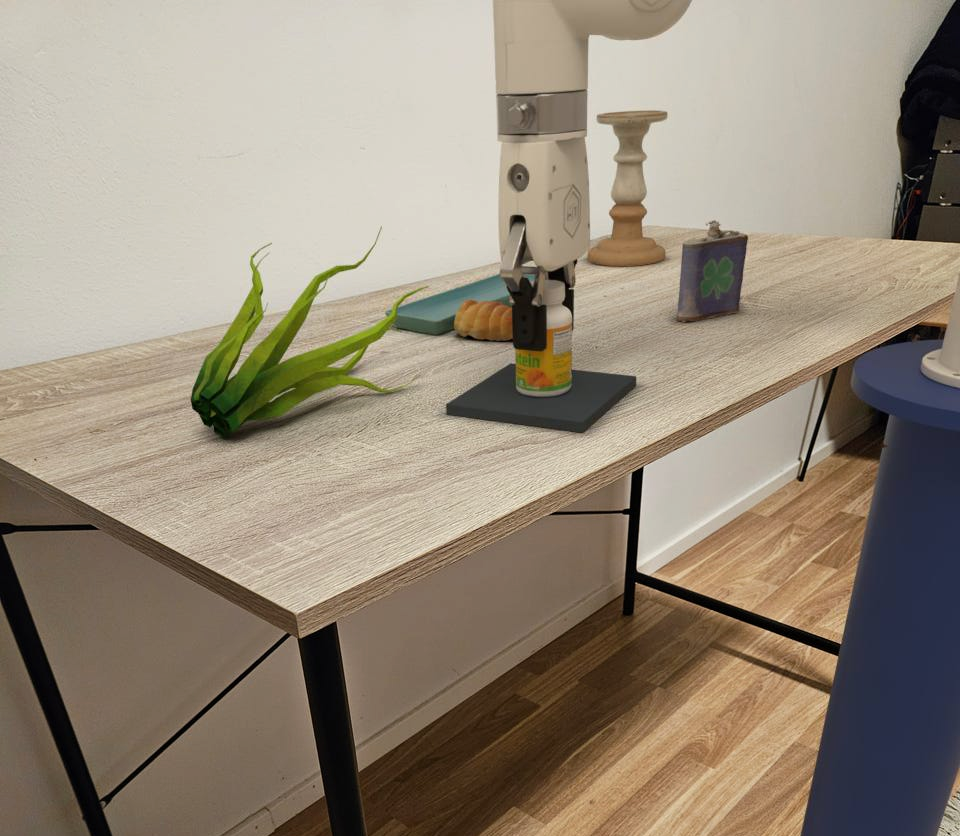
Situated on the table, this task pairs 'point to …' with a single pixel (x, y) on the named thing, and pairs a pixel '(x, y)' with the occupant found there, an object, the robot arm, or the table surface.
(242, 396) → the decorative plant
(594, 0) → the robot arm
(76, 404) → the table surface
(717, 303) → the flask
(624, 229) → the candle holder
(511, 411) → the mat
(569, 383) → the supplement bottle
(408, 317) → the teal serving tray
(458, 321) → the pastry
